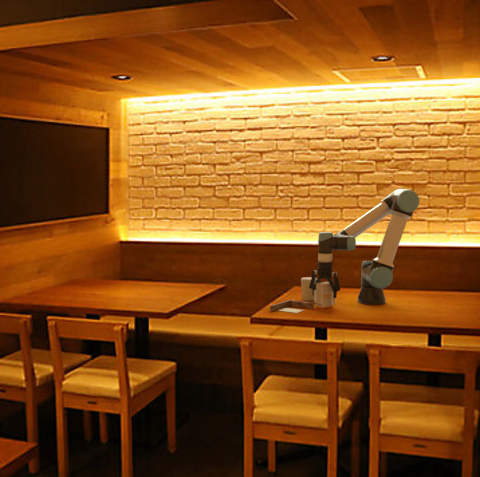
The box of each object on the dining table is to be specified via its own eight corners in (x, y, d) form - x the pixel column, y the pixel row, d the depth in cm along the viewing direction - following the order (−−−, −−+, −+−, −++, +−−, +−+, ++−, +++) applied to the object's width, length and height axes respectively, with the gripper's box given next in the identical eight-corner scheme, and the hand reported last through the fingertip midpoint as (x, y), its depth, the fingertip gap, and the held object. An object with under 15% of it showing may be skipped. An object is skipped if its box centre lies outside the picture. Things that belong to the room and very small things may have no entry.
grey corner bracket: (313, 308, 358) (313, 302, 358) (294, 314, 341) (294, 308, 341) (289, 305, 366) (289, 299, 366) (270, 311, 349) (270, 305, 349)
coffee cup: (316, 301, 378) (316, 279, 377) (299, 300, 380) (300, 279, 379) (318, 298, 388) (318, 277, 386) (301, 297, 389) (301, 276, 388)
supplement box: (326, 305, 367) (326, 281, 365) (332, 306, 363) (333, 282, 362) (315, 307, 361) (315, 282, 360) (321, 308, 358) (322, 284, 356)
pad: (304, 310, 352) (304, 310, 352) (296, 313, 345) (296, 312, 345) (285, 308, 358) (285, 307, 358) (277, 310, 351) (277, 310, 351)
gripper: (347, 262, 357) (346, 304, 359) (309, 258, 369) (308, 299, 371) (341, 263, 351) (340, 306, 353) (302, 260, 363) (302, 301, 365)
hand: (324, 303), depth 362 cm, fingers open, 10 cm apart
